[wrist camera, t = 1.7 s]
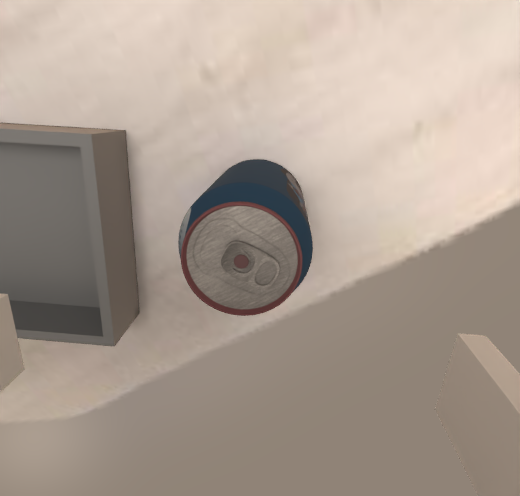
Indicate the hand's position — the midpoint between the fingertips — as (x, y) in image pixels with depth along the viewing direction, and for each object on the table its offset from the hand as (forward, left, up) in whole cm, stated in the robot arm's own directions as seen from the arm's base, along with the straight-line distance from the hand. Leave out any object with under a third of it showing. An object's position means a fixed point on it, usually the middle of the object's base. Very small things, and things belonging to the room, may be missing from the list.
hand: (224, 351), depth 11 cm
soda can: (0, 0, -19) cm, 19 cm away
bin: (-21, -3, -18) cm, 28 cm away
